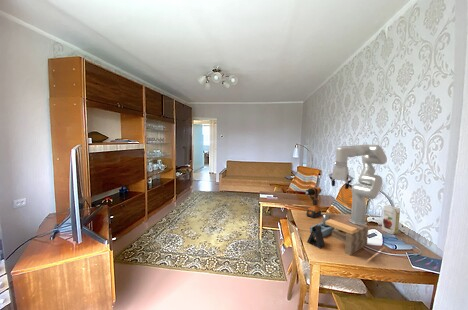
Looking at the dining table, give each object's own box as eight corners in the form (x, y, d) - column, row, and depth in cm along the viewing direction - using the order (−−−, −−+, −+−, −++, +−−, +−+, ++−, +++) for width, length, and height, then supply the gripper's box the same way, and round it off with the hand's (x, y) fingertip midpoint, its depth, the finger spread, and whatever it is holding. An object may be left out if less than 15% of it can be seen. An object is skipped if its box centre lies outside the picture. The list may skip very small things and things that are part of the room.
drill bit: (323, 229, 144) (324, 213, 143) (329, 231, 141) (330, 215, 140) (320, 230, 142) (321, 214, 141) (326, 232, 139) (327, 216, 137)
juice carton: (386, 228, 149) (388, 204, 148) (399, 233, 141) (401, 208, 140) (380, 230, 147) (382, 205, 145) (392, 235, 139) (395, 209, 137)
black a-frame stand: (325, 245, 123) (326, 227, 122) (320, 248, 120) (321, 229, 119) (311, 239, 130) (312, 222, 129) (306, 242, 127) (307, 224, 126)
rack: (322, 228, 148) (322, 221, 147) (334, 233, 140) (334, 226, 140) (309, 233, 139) (310, 226, 138) (321, 239, 131) (322, 232, 131)
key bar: (330, 222, 127) (330, 219, 127) (356, 231, 114) (357, 228, 114) (325, 224, 124) (325, 221, 124) (351, 234, 111) (352, 231, 111)
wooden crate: (339, 233, 140) (340, 216, 138) (367, 245, 125) (369, 225, 124) (320, 242, 126) (321, 223, 125) (350, 256, 112) (351, 235, 111)
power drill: (309, 220, 162) (311, 190, 160) (301, 217, 168) (303, 189, 166) (322, 214, 175) (324, 187, 173) (314, 212, 181) (316, 185, 179)
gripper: (326, 163, 147) (325, 185, 148) (351, 166, 132) (349, 190, 134) (332, 162, 151) (331, 184, 152) (356, 165, 137) (354, 189, 138)
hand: (339, 187), depth 143 cm, fingers open, 9 cm apart
